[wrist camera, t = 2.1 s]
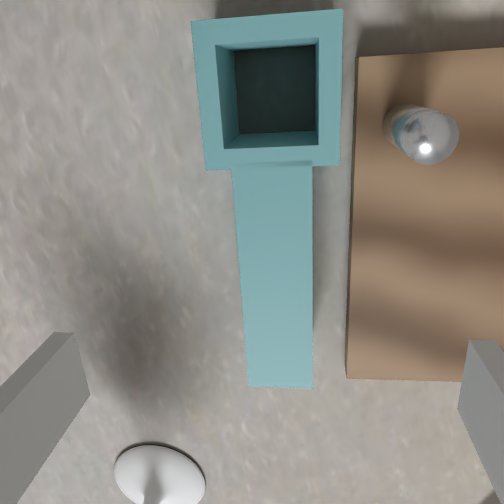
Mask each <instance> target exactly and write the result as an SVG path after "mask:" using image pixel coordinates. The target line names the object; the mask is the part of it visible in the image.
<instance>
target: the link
mask: <svg viewBox="0 0 504 504" xmlns="http://www.w3.org/2000/svg"><path fill="white" fill-rule="evenodd" d="M191 31H192V41H193V50H194V60H195V70H196V79H197V89H198V99H199V108H200V118H201V128H202V138H203V147H204V157H205V167H206V170H228V169H231V171H232V184H233V197H234V209H235V222H236V235H237V247H238V260H239V273H240V286H241V298H242V311H243V324H244V336H245V349H246V362H247V374H248V387H276V388H308V389H313V255H312V166H339V165H340V125H341V82H342V40H343V8H342V9H330V10H318V11H306V12H294V13H282V14H270V15H258V16H246V17H233V18H221V19H209V20H197V21H191ZM308 45H315V131H298V132H277V133H255V134H239V121H238V106H237V92H236V77H235V63H234V51H239V50H253V49H267V48H281V47H294V46H308Z"/></svg>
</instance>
